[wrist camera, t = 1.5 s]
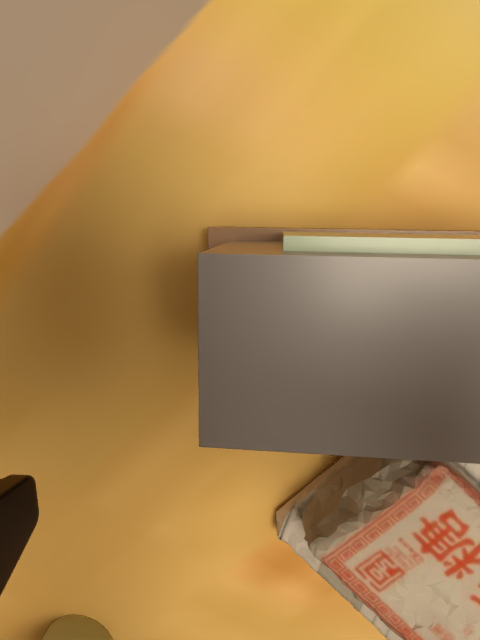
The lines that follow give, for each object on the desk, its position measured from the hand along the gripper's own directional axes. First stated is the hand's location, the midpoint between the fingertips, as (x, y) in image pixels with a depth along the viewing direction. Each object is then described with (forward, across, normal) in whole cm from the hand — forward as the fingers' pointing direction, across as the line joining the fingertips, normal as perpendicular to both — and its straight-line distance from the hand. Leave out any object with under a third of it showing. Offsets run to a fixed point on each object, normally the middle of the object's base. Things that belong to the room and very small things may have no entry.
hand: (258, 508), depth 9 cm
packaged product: (+12, -10, +12) cm, 20 cm away
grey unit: (+12, -5, -2) cm, 13 cm away
